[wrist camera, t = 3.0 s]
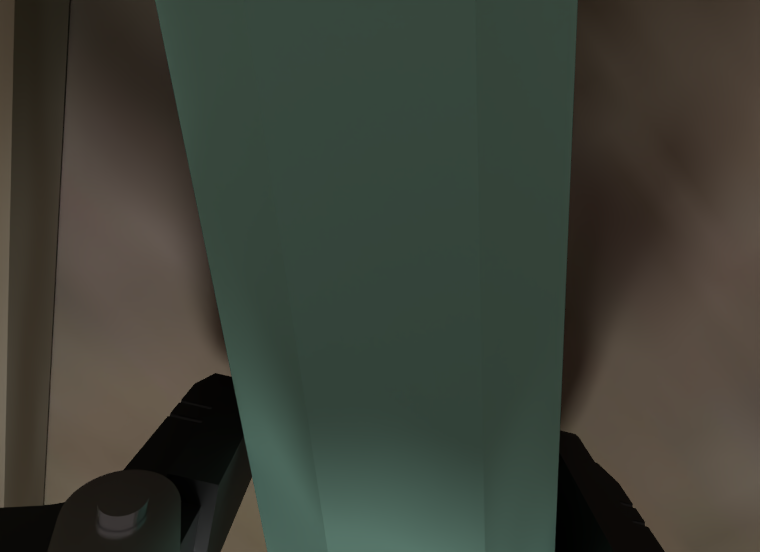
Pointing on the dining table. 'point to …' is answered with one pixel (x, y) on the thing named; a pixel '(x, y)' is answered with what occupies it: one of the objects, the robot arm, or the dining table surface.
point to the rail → (28, 233)
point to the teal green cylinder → (387, 258)
